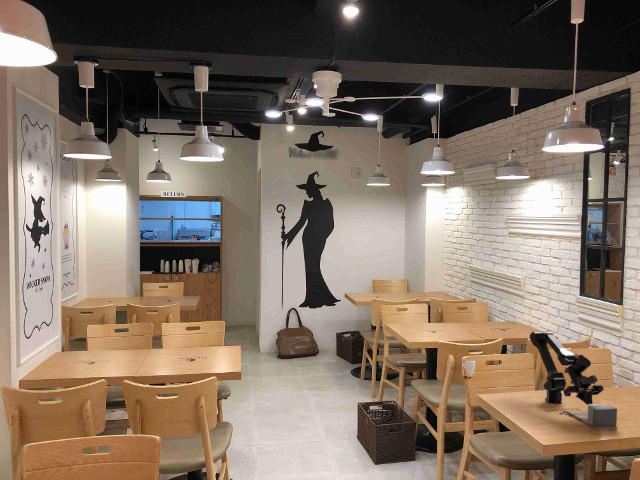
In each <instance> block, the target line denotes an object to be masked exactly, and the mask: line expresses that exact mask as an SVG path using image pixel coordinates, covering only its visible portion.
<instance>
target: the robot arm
mask: <svg viewBox="0 0 640 480" xmlns="http://www.w3.org/2000/svg"><path fill="white" fill-rule="evenodd" d="M529 339H530V342H531V344H532V345H533V346H534V347H536V348H537V350H538V352H539V355H540V357H541V360H542V362H543V365H544V367H545V371H546V372H547V374H546V382H545V383H543V388H544V389H545V390H546V397H545V398H544V399H545V400H546V401H547V402H548V403H549V404H563V402H562V401H563V395H564V396H565V397H571V395H572V394H576V395H575V398H577V399H579V400H580V401H582V402H583V403H584V404H585V405H587V406H588V404H594V401H593V396H597V395H599V394H601V393H602V392H603V391H604V390H605V389H604V386H603V385H602V384H596V383H597V382H598V378H597V375H595V374H593V375H589V376H585V375H583V373H584V372H585V371H586V370H588V369H589V368H590V366H591V365H592V362H591V360H590V359H588V358H587V357H586V356H584V355H583V354H579V355H578V356H576V355H575V354H574V352H572V351H570V350H568V349H566V348H565V347H564V346H563V344H562V343H561V342H560V341H559V340H558V339H557V338H556V336H555V335H554V332H552V331H531V333H530V334H529ZM548 345H549V347H551V350H553V351H554V353H555V354H556V355H557V361H558V362H559V363H560V364H561V366H568V367H565V369H564V373H563V372H562V371H559V370H558V369H557V367H556V365H555V362H554V360H553V356H552V354H551V352H550V351H549V348H548ZM565 374H568V376H569V379H570V384H571V385H569V386H567V381H566V377H565V376H564V375H565ZM562 392H563V394H562Z"/></svg>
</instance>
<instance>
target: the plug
mask: <svg viewBox="0 0 640 480" xmlns="http://www.w3.org/2000/svg"><path fill="white" fill-rule="evenodd" d="M596 405H600V404H599V403H593V404H588V405H587V407H588V406H596ZM586 411H587V419H588V410H586Z"/></svg>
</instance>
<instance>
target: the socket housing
mask: <svg viewBox="0 0 640 480" xmlns="http://www.w3.org/2000/svg"><path fill="white" fill-rule="evenodd" d="M587 411H588V423H589V424H591V425H592V426H594V427H607V426H617V425H618V424H617V423H618V422H617V421H618V420H617V419H618V408H617V407H614V406H613V405H610V404H601V405H600V404H599V405H596V406H588V405H587Z"/></svg>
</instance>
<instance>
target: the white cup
mask: <svg viewBox="0 0 640 480" xmlns="http://www.w3.org/2000/svg"><path fill="white" fill-rule="evenodd" d="M463 367H464V368H465V370H466V371H467V372H468V373H469V375H470V376H472V375H473V373H474V374H475V371H474V370H476V360H475V361H465V363H463V362H462V361H461V371H462V372H461V373H462V375H461V376H462V377H464V370H463Z"/></svg>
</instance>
